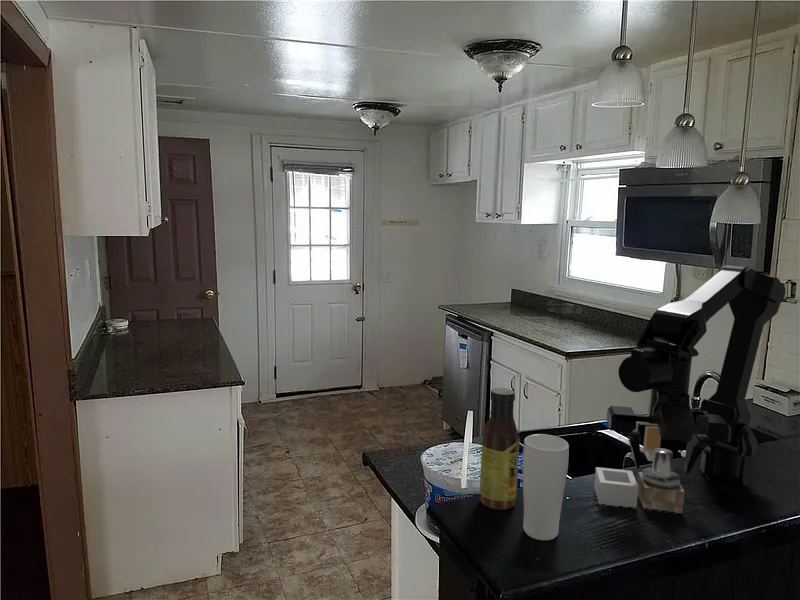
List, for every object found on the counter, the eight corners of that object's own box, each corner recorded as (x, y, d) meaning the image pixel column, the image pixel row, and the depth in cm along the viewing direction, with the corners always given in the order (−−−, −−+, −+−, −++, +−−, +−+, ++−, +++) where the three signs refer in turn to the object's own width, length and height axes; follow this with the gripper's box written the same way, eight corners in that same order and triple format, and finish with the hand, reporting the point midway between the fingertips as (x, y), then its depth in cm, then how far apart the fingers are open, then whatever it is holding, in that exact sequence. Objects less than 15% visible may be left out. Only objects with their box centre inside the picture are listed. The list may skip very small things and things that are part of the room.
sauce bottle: (515, 514, 96) (522, 399, 93) (477, 509, 97) (483, 396, 94) (516, 495, 102) (522, 387, 99) (480, 491, 104) (485, 384, 101)
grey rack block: (629, 491, 105) (631, 470, 104) (636, 508, 99) (638, 486, 98) (594, 487, 106) (595, 467, 106) (598, 504, 100) (600, 482, 100)
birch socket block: (673, 496, 104) (675, 475, 103) (682, 514, 98) (684, 491, 97) (636, 492, 105) (638, 471, 104) (643, 509, 99) (645, 487, 98)
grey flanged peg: (672, 494, 103) (677, 446, 102) (681, 511, 98) (687, 460, 96) (637, 490, 105) (641, 443, 103) (643, 506, 99) (648, 456, 97)
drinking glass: (513, 521, 94) (518, 433, 92) (554, 521, 94) (560, 433, 92) (525, 545, 87) (531, 451, 85) (569, 544, 88) (576, 450, 85)
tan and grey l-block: (656, 452, 109) (659, 424, 108) (662, 462, 105) (665, 433, 104) (643, 450, 110) (645, 423, 109) (648, 460, 105) (650, 432, 104)
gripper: (619, 392, 92) (611, 485, 94) (748, 403, 88) (737, 499, 91) (609, 373, 103) (602, 457, 105) (724, 382, 99) (714, 468, 101)
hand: (661, 470), depth 100 cm, fingers open, 8 cm apart
